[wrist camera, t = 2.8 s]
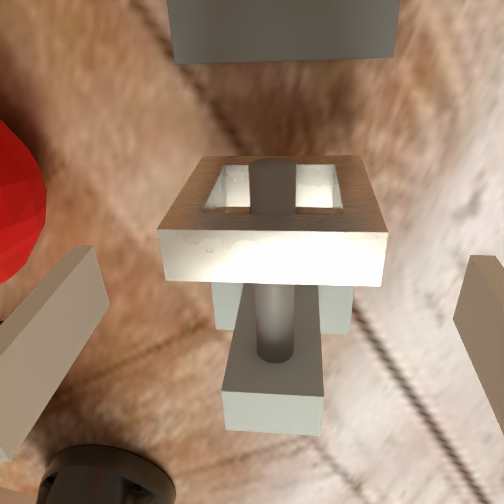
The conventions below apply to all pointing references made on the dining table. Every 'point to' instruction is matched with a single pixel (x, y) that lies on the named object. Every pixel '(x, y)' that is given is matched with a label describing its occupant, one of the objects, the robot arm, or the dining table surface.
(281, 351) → the stand
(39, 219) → the tomato
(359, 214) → the square ring
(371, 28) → the coaster
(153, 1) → the dining table surface
